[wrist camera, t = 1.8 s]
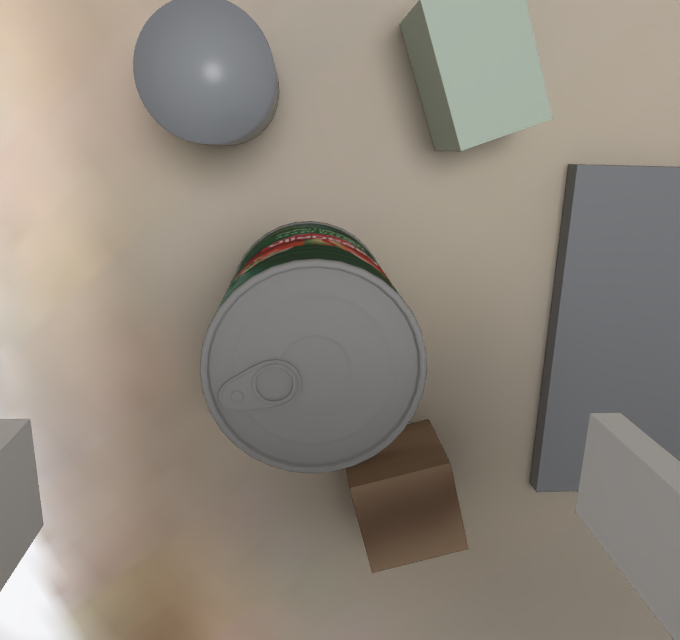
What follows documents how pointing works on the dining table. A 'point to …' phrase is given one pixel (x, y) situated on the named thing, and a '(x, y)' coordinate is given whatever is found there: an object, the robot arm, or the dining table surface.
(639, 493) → the robot arm
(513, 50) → the sage box
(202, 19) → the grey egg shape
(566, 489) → the slate grey board
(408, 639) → the dining table surface
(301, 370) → the canned tomato
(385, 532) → the walnut block
